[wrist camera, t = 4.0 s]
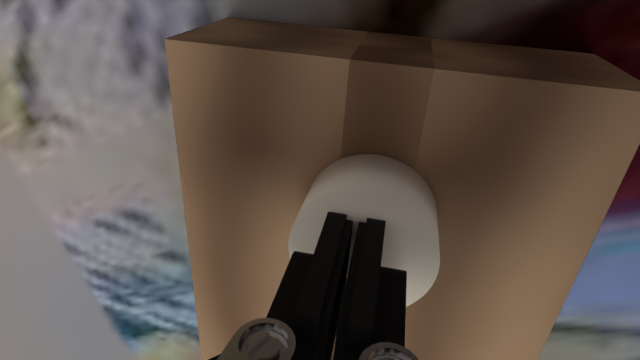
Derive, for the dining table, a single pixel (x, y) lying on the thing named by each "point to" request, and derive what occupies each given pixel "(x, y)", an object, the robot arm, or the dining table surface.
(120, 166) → the dining table surface
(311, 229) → the ivory knob
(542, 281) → the tan flat board
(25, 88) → the dining table surface
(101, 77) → the dining table surface
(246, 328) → the robot arm
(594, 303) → the dining table surface
